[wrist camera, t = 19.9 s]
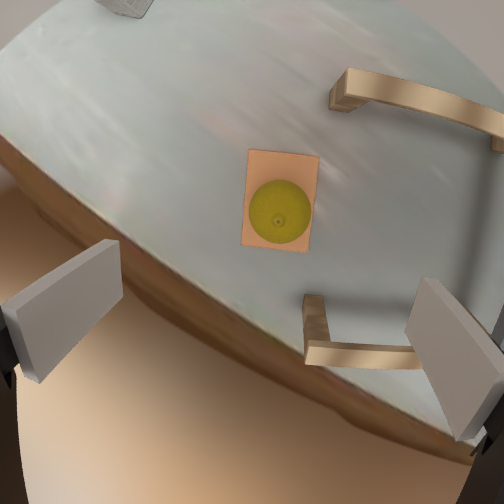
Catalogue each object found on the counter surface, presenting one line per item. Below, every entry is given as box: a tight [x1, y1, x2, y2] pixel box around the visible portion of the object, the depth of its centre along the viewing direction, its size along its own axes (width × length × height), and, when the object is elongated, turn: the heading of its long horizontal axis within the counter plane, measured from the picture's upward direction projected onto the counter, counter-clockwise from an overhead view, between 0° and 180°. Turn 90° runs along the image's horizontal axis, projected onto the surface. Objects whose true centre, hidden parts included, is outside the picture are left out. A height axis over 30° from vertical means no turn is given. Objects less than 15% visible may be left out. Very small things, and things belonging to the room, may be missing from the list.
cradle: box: [302, 67, 504, 369], centre depth 26 cm, size 22×24×10 cm
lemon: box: [249, 180, 312, 244], centre depth 28 cm, size 6×6×8 cm
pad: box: [241, 149, 319, 253], centre depth 32 cm, size 7×10×1 cm
